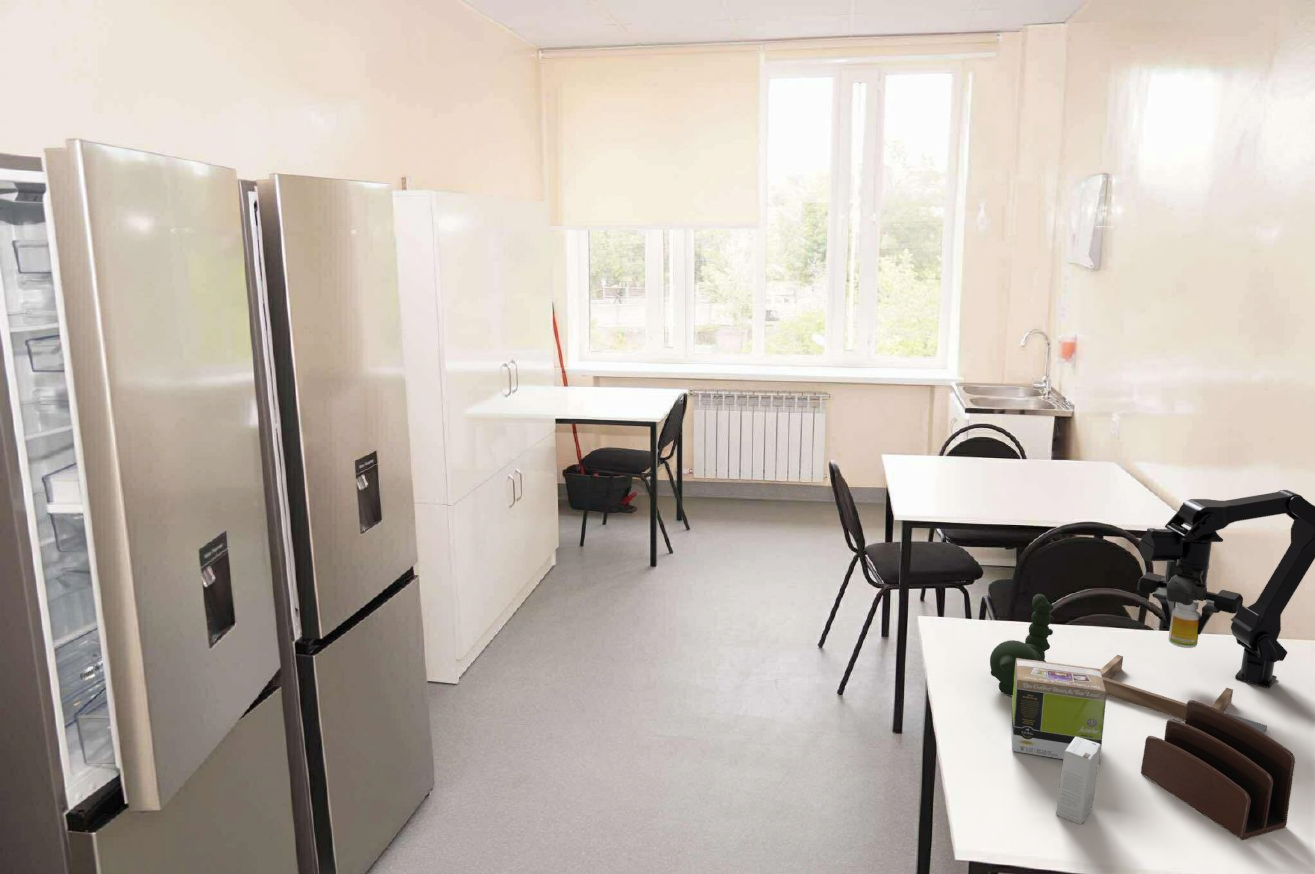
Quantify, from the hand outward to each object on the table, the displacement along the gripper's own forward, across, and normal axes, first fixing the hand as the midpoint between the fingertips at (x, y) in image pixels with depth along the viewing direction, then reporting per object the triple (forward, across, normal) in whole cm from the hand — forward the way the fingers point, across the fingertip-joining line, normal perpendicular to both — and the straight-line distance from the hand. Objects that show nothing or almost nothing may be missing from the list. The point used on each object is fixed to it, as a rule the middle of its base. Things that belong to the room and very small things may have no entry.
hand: (1184, 629), depth 197 cm
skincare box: (+11, +3, -64) cm, 65 cm away
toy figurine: (+11, -23, -26) cm, 37 cm away
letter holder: (+12, +18, -44) cm, 49 cm away
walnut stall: (+11, 0, -12) cm, 16 cm away
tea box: (+11, -8, -46) cm, 48 cm away
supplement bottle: (+3, 0, 0) cm, 3 cm away
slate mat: (+11, +15, -16) cm, 25 cm away
